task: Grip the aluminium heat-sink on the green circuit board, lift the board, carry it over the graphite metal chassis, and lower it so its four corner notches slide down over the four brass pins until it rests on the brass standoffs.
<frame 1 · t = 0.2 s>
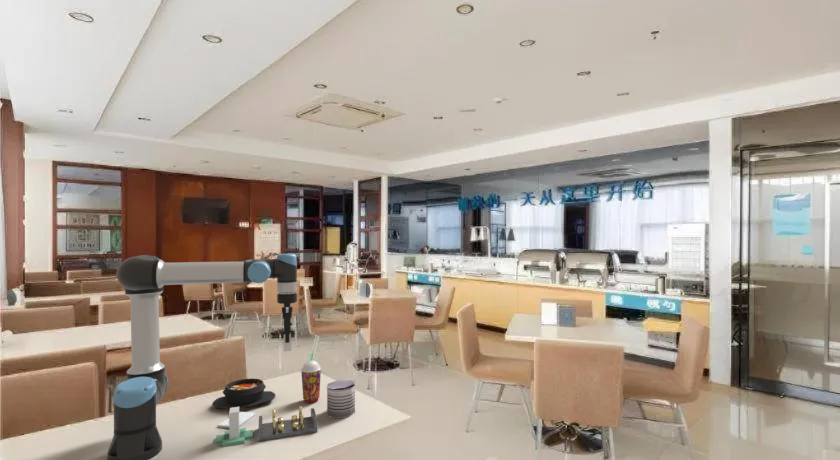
hand: (287, 346, 171), 27 cm above the table, tool pointing down, fingers open, 13 cm apart
external hard drive: (237, 423, 166), on the table
chassis: (287, 430, 158), on the table
casserole: (244, 404, 184), on the table
can: (341, 412, 174), on the table
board: (234, 438, 152), on the table
smoothie: (311, 401, 186), on the table
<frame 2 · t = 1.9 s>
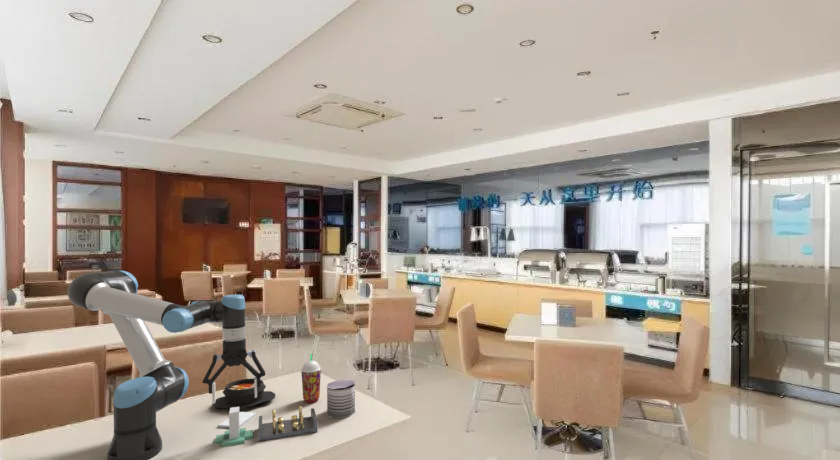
hand: (235, 399, 152), 14 cm above the table, tool pointing down, fingers open, 13 cm apart
nothing on the table moved.
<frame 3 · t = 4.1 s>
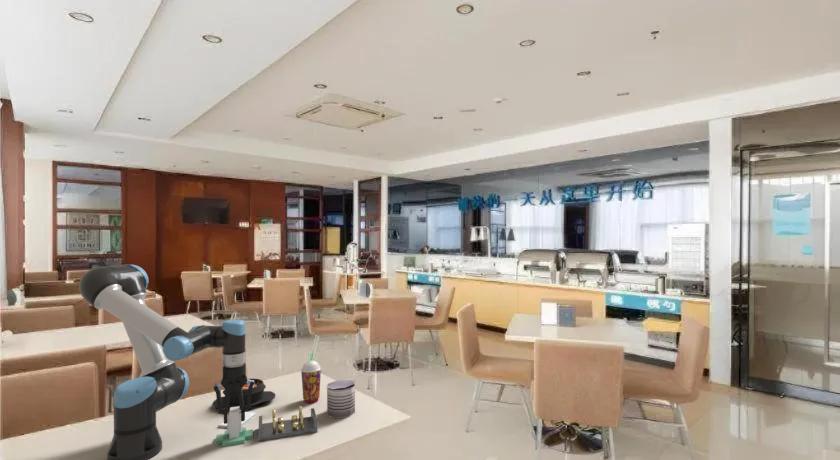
hand: (234, 431, 152), 3 cm above the table, tool pointing down, fingers closed on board, 3 cm apart
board: (234, 438, 152), on the table, touching gripper
everything else where it was.
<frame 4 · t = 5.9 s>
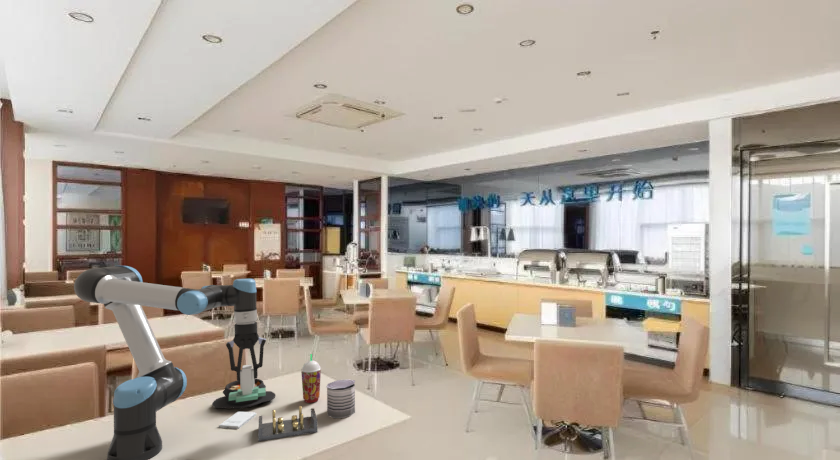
hand: (247, 388, 153), 17 cm above the table, tool pointing down, fingers closed on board, 3 cm apart
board: (247, 395, 153), point 15 cm above the table, touching gripper
everything else where it was.
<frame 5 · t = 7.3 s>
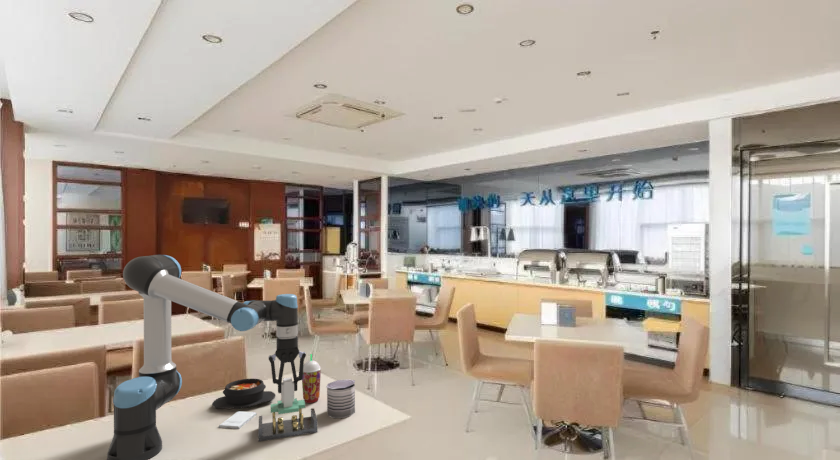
hand: (287, 400, 158), 11 cm above the table, tool pointing down, fingers closed on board, 3 cm apart
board: (287, 407, 158), point 8 cm above the table, touching gripper
everything else where it was.
when the fingers open (7 cm above the table, at t = 8.2 s): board stays where it is, resting on chassis.
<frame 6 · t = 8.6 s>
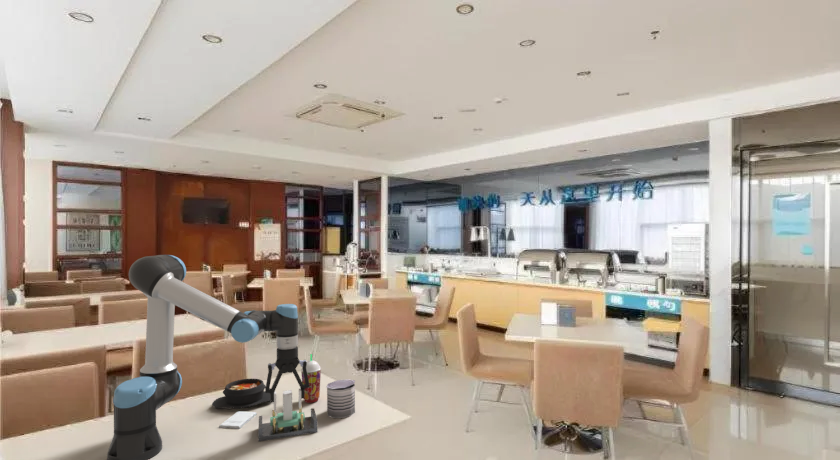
hand: (287, 408, 158), 8 cm above the table, tool pointing down, fingers open, 8 cm apart
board: (287, 420, 158), point 3 cm above the table, touching chassis
everything else where it was.
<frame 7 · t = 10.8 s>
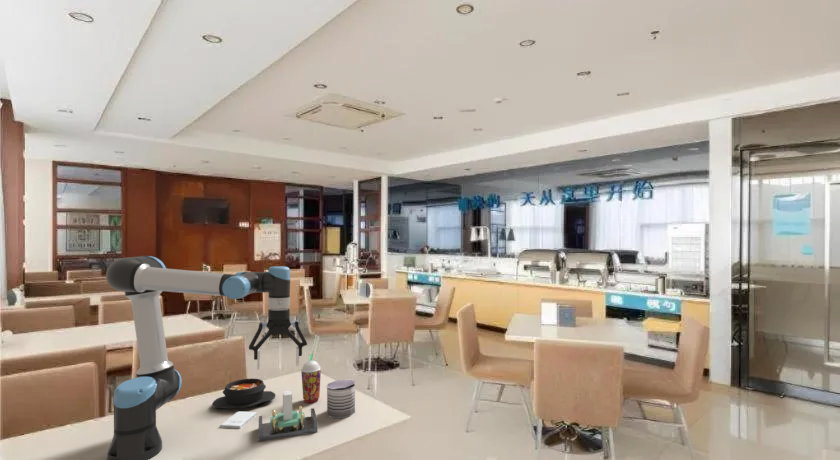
hand: (278, 366, 158), 23 cm above the table, tool pointing down, fingers open, 13 cm apart
nothing on the table moved.
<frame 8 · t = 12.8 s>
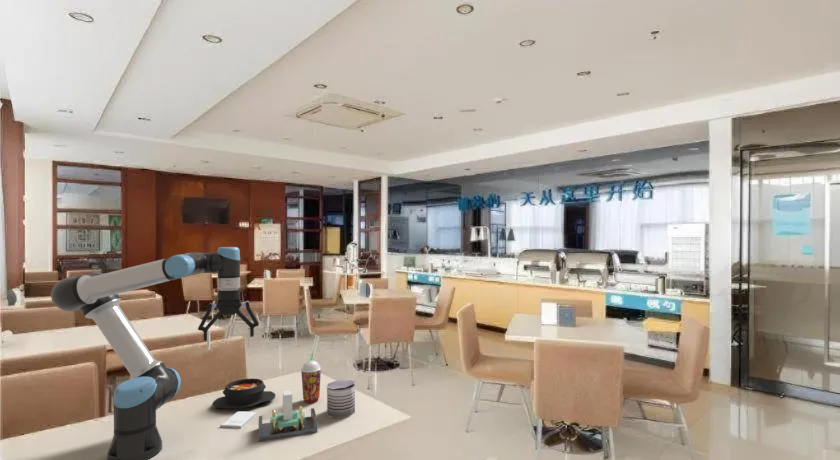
hand: (229, 347, 157), 31 cm above the table, tool pointing down, fingers open, 13 cm apart
nothing on the table moved.
at the end: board 0.1 cm off-centre on the chassis, point 3.5 cm above the chassis's base; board tilted 0°; the gripper is holding nothing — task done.
